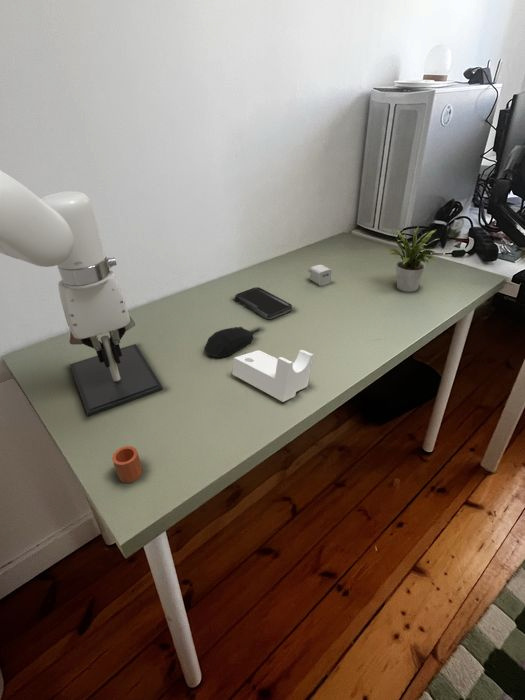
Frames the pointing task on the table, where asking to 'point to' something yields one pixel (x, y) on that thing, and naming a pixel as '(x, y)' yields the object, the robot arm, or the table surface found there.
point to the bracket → (274, 373)
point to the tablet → (108, 393)
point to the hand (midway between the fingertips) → (111, 361)
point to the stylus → (110, 358)
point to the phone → (263, 303)
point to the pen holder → (127, 464)
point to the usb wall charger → (320, 274)
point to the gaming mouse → (228, 341)
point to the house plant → (412, 261)
